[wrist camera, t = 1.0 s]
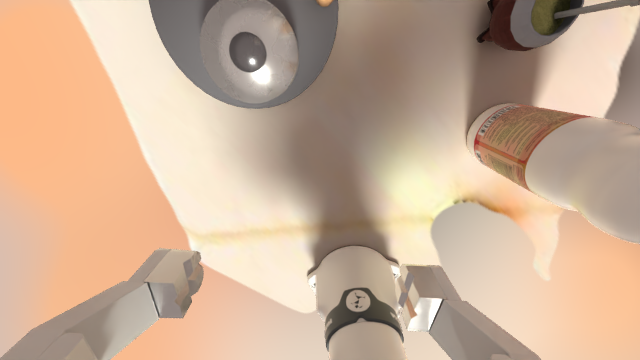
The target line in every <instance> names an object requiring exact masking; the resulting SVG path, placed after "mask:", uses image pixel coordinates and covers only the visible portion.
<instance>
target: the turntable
mask: <svg viewBox="0 0 640 360" xmlns="http://www.w3.org/2000/svg"><path fill="white" fill-rule="evenodd" d="M218 1H220V0H149V4H150V8H151V13H152V17H153V20H154V23H155V26H156V29H157V31H158V34H159V36H160V38H161V40H162V42H163V44H164V46H165V48H166V50H167V51H168V53H169V55H170V56H171V58H172V59H173V61H174V62H175V63H176V65H177V66H178V68H179V69H180V70H181V71H182V72H183V73H184V74H185V75H186V77H187V78H188V79H190V80H191V81H192V82H193V83H194V84H195V85H196V86H197V87H199V88H200V89H201V90H203V91H204V92H205V93H207V94H209V95H210V96H212V97H214V98H216V99H218V100H220V101H222V102H225V103H227V104H230V105H234V106H237V107H243V108H253V109H260V108H269V107H273V106H277V105H280V104H283V103H285V102H288V101H290V100H291V99H293V98H295V97H296V96H298V95H299V94H301V93H302V92H303V91H304V90H306V89H307V88H308V87H309V86H310V85H311V84H312V83H313V82H314V80H315V79H316V78H317V76H318V75H319V74H320V72H321V71H322V69H323V67H324V65H325V64H326V62H327V60H328V57H329V55H330V52H331V50H332V47H333V43H334V39H335V36H336V29H337V23H338V0H267V1H268V2H270V3H271V4H273V5H274V6H275V7H276V8H277V9H278V10H279V11H280V12H281V13H282V14H283V15H284V17H285V18H286V20H287V21H288V23H289V24H290V26H291V27H292V29H293V31H294V33H295V36H296V39H297V42H298V46H299V66H298V71H297V74H296V76H295V78H294V80H293V82H292V84H291V85H290V86H289V88H288V89H287V90H286V91H285V92H283V93H282V94H281V95H279V96H278V97H276V98H274V99H272V100H270V101H267V102H263V103H246V102H242V101H239V100H237V99H234V98H232V97H231V96H229V95H227V94H226V93H225V92H223V91H222V90H221V89H220V88H219V87H218V86H217V85H216V84H215V82H214V81H213V80H212V78H211V77H210V75H209V73H208V72H207V70H206V68H205V65H204V63H203V59H202V56H201V50H200V33H201V28H202V25H203V22H204V19H205V17H206V15H207V13H208V12H209V11H210V9H211V8H212V7H213V6H214V5H215V4H216V3H217V2H218Z"/></svg>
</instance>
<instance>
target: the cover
mask: <svg viewBox="0 0 640 360" xmlns="http://www.w3.org/2000/svg"><path fill="white" fill-rule="evenodd" d="M200 50H201V56H202V59H203V63H204V65H205V68H206V70H207V72H208V73H209V75H210V77H211V78H212V80H213V81H214V82H215V84H216V85H217V86H218V87H219V88H220V89H221V90H222V91H223V92H225V93H226V94H227V95H229V96H231V97H232V98H234V99H237V100H239V101H242V102H246V103H263V102H267V101H270V100H272V99H274V98H276V97H278V96H279V95H281V94H282V93H283V92H285V91H286V90H287V89H288V88H289V86H290V85H291V84H292V82H293V80H294V78H295V76H296V74H297V71H298V66H299V46H298V42H297V39H296V36H295V33H294V31H293V29H292V27H291V26H290V24H289V23H288V21H287V20H286V18H285V17H284V15H283V14H282V13H281V12H280V11H279V10H278V9H277V8H276V7H275V6H274V5H273V4H271V3H270V2H268V1H267V0H220V1H218V2H217V3H216V4H215V5H214V6H213V7H212V8H211V9H210V11H209V12H208V13H207V15H206V17H205V19H204V22H203V25H202V28H201V33H200Z"/></svg>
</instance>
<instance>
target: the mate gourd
mask: <svg viewBox="0 0 640 360" xmlns="http://www.w3.org/2000/svg"><path fill="white" fill-rule="evenodd" d="M487 4H488V6H489V9H490V11H491V13H492V17H491V20H490V27H489V28H488V29H487V30H486V31H485V32H483V33H482V34H481V35H480V36H479V37H478V38H477V40H478V42H479V43H482V42H483V41H484V40H486V41H494V42H495V43H496V44H497V45H499V46H501V47H503V48H504V49H507V50H515V51H527V50H531V49H534V48H537V47H540V46H543V45H546V44H549V43H551V42H552V41H554V40H555V39H556V38H558V37H559V36H560V35H562V34H563V33H564V32H565V31H566V30H567V29H568V28H569V27H570V26H571V25H572V24H573V22H574V21H575V20H576V18H577V17H578V16H579V14H584V13H590V12H595V11H601V10H606V9H612V8H617V7H623V6H628V5H630V6H631V7H632V6H637V5H639V4H640V0H616V1H611V2H606V3H601V4H596V5H591V6H586V7H583V4H584V0H490V1H489V2H488V3H487Z"/></svg>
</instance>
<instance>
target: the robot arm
mask: <svg viewBox="0 0 640 360" xmlns="http://www.w3.org/2000/svg"><path fill="white" fill-rule="evenodd" d="M200 260H201V256H200V252H198V251H188V250H177V249H162V248H159V249H157V250H156V251H154V253H153V254H152V255H151V256H150V257H149V258H148V259H147V260H146V261H145V262H144V263H143V265H142V266H141V267H140V268H139V269H138V270H137V271H136V272H135V273H134V275H133V276H132V277H131V278H130V279H129V280H128V281H123V282H121V283H119V284H117V285H115V286H113V287H111V288H109V289H107V290H105V291H104V292H102V293H100V294H98V295H96V296H94V297H92V298H90V299H89V300H87V301H85V302H83V303H81V304H79V305H77V306H75V307H73V308H71V309H70V310H68V311H66V312H64V313H62V314H60V315H58V316H56V317H54V318H53V319H51V320H49V321H47V322H45V323H43V324H41V325H39V326H37V327H36V328H34V329H32V330H31V331H30V332H29V333H27V335H26V336H24V337H23V338H22V339H21V340H20V341H19V342H18V343H16V344H15V346H13V347H12V348H11V349H10V350H9V351H8V352H7V353H5V354H4V355H3V356H2V357H1V358H0V360H110V359H112V358H113V357H114V356H115V355H116V354H117V353H119V352H120V351H121V350H122V349H124V348H125V347H126V346H127V345H128V344H130V343H131V342H132V341H133V340H134V339H136V338H137V337H138V336H139V335H140V334H142V333H143V332H144V331H145V330H147V329H148V328H149V327H150V326H151V325H153V324H154V323H155V322H156V321H157V320H159V318H183V317H184V315H185V313H186V312H187V310H188V308H189V306H190V304H191V303H192V300H191V296H192V295H193V294H195V293H196V292H198V290H199V288H200V286H201V283H202V280H203V267H202V266H201V265H200V264H199V261H200ZM399 274H401V276H400V277H399ZM308 283H309V285H310V287H311V288H312V290H313V292H314V294H315V296H316V309H317V313H319V315H320V317H321V318H322V320H323V321H324V322H325V339H326V347H327V350H328V352H329V360H408V359H407V356H406V353H405V350H404V347H403V341H404V338H403V334H402V327H401V324H400V321H399V320H398V318H399V317H400V312H399V309H400V308H401V306H402V307H403V310H402V317H403V320H404V322H405V326H406V329H407V330H411V331H423V332H429V334H430V335H431V336H432V337H433V338H434V340H435V341H436V342H437V343H438V344H439V345H440V346H441V348H442V349H443V350H444V351H445V352H446V353H447V354H448V356H449V357H450V358H451V359H452V360H541V359H540V358H539V356H538V355H536V354H535V353H534V352H532V351H531V350H530V349H529V348H527V347H526V346H525V345H523V344H522V343H521V342H519V341H518V340H517V339H515V338H514V337H513V336H512V335H510V334H509V333H508V332H506V331H505V330H504V329H502V328H501V327H500V326H498V325H497V324H496V323H494V322H493V321H492V320H490V319H489V318H488V317H486V316H485V315H484V314H483V313H481V312H480V311H478V310H477V309H476V308H474V307H473V306H472V305H471V304H469V303H468V302H467V301H462V300H461V298H460V297H459V295H458V293H457V291H456V290H455V288H454V286H453V285H452V283H451V282H450V280H449V278H448V277H447V275H446V273H445V272H444V270H443V268H442V267H440V266H436V265H415V264H402V265H401V267H399V265H398V264H397V263H395V262H392V261H389V260H387V259H385V258H384V257H383V256H382V255H381V254H380V253H378V252H377V251H375V250H373V249H371V248H368V247H363V246H348V247H343V248H340V249H337V250H335V251H333V252H331V253H330V254H328V255H327V256H326V257H325V258H324V259H323V260H322V262H321V263H320V265H319V267H318V268H317V269H316V270H315V271H313V272H312V273H310V274H309V275H308Z"/></svg>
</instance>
